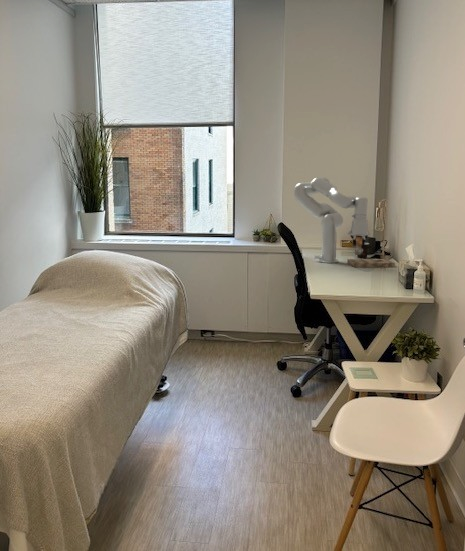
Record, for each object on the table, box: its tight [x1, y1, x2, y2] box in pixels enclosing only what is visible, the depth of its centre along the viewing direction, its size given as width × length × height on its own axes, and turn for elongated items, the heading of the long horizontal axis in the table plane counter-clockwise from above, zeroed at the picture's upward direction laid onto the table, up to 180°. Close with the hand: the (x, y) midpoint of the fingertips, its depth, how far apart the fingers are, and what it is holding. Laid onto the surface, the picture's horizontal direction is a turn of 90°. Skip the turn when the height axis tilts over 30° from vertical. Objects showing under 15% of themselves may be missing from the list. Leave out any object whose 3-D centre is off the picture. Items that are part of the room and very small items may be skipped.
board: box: [346, 258, 396, 268], centre depth 344 cm, size 26×16×3 cm, turn 93°
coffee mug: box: [356, 242, 375, 259], centre depth 371 cm, size 12×9×10 cm
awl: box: [354, 236, 363, 256], centre depth 342 cm, size 5×5×11 cm
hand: (358, 245), depth 342 cm, fingers closed on awl, 4 cm apart
